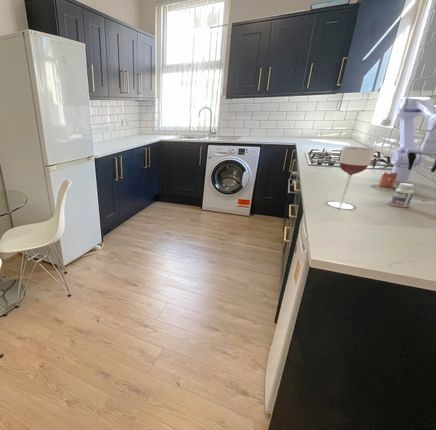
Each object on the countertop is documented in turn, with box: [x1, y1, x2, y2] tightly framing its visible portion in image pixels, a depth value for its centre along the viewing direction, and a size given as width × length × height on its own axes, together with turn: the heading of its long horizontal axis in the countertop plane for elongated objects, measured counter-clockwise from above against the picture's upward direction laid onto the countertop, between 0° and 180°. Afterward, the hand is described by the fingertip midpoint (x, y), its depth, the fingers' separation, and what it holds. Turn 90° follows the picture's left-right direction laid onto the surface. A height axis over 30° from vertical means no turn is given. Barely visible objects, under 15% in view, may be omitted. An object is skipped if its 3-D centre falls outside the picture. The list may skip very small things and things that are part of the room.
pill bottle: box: [390, 182, 415, 208], centre depth 113 cm, size 5×5×9 cm
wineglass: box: [327, 146, 377, 210], centre depth 110 cm, size 9×10×23 cm
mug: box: [377, 171, 398, 189], centre depth 135 cm, size 8×6×7 cm
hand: (420, 170), depth 131 cm, fingers open, 7 cm apart
